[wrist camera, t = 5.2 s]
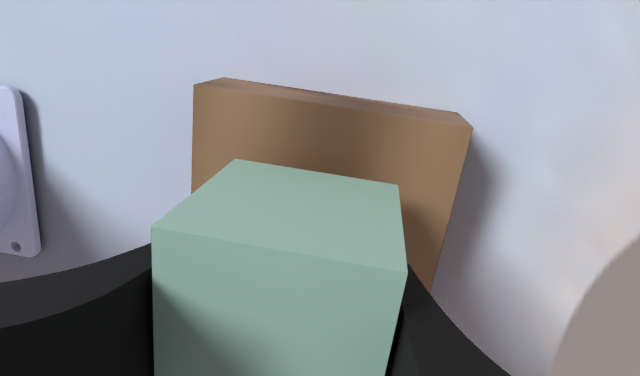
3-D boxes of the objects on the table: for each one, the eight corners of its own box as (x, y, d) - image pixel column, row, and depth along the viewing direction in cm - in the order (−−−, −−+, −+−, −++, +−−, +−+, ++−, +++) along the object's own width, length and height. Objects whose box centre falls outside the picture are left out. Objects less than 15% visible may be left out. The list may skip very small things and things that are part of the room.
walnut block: (216, 273, 20) (188, 312, 17) (225, 76, 16) (193, 84, 14) (408, 309, 19) (413, 357, 16) (456, 111, 16) (473, 127, 13)
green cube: (228, 295, 15) (154, 416, 10) (235, 158, 13) (150, 226, 8) (370, 322, 14) (364, 462, 9) (398, 184, 12) (407, 273, 8)
